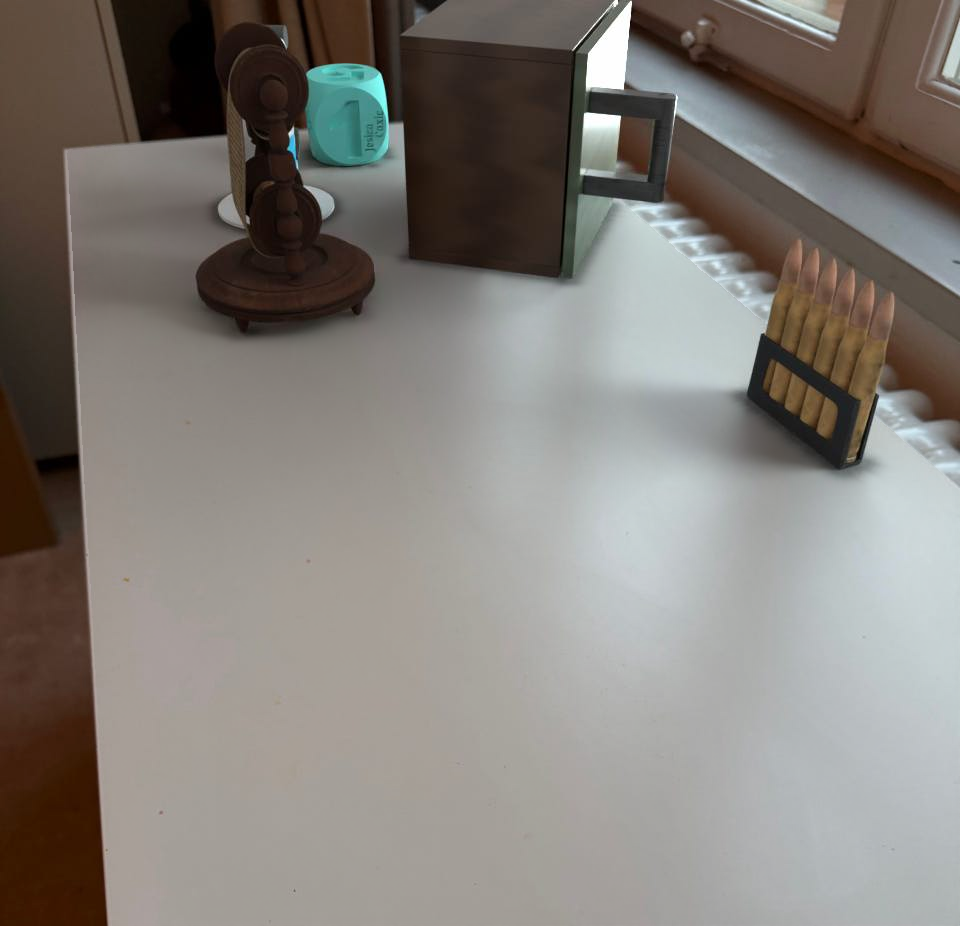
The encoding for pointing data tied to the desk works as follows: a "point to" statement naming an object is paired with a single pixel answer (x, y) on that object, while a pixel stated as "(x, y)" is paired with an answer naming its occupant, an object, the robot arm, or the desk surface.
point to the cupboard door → (609, 136)
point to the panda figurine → (324, 199)
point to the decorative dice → (347, 114)
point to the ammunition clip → (822, 358)
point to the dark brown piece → (274, 199)
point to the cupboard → (492, 130)
